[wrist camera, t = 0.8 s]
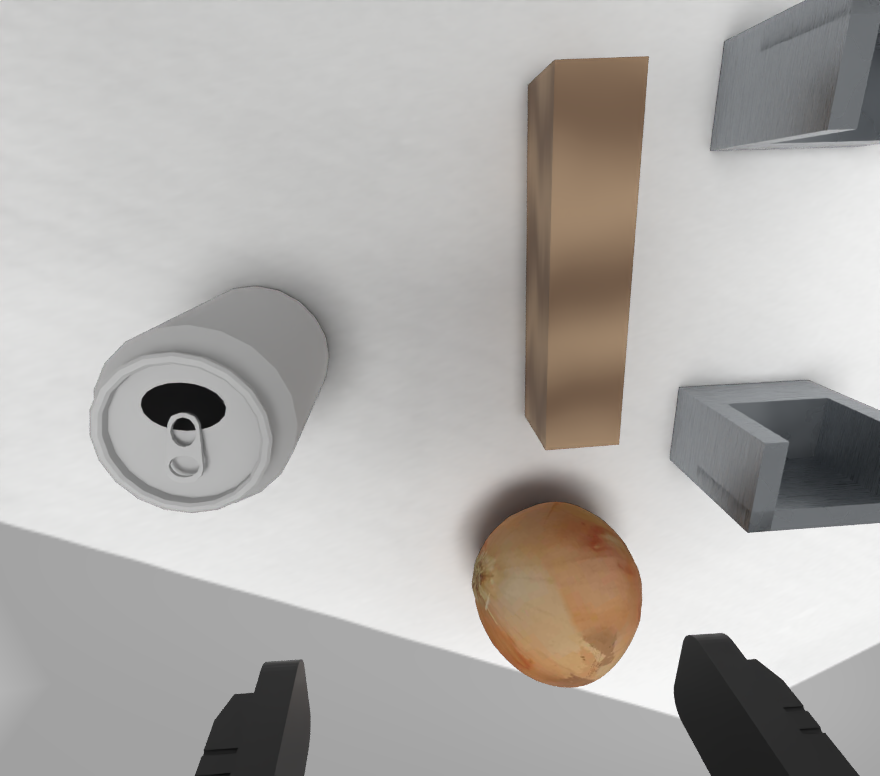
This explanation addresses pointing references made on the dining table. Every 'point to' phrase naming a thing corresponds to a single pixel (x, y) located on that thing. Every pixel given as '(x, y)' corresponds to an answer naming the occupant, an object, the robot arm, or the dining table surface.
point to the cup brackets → (801, 402)
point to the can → (210, 400)
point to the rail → (581, 244)
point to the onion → (558, 593)
